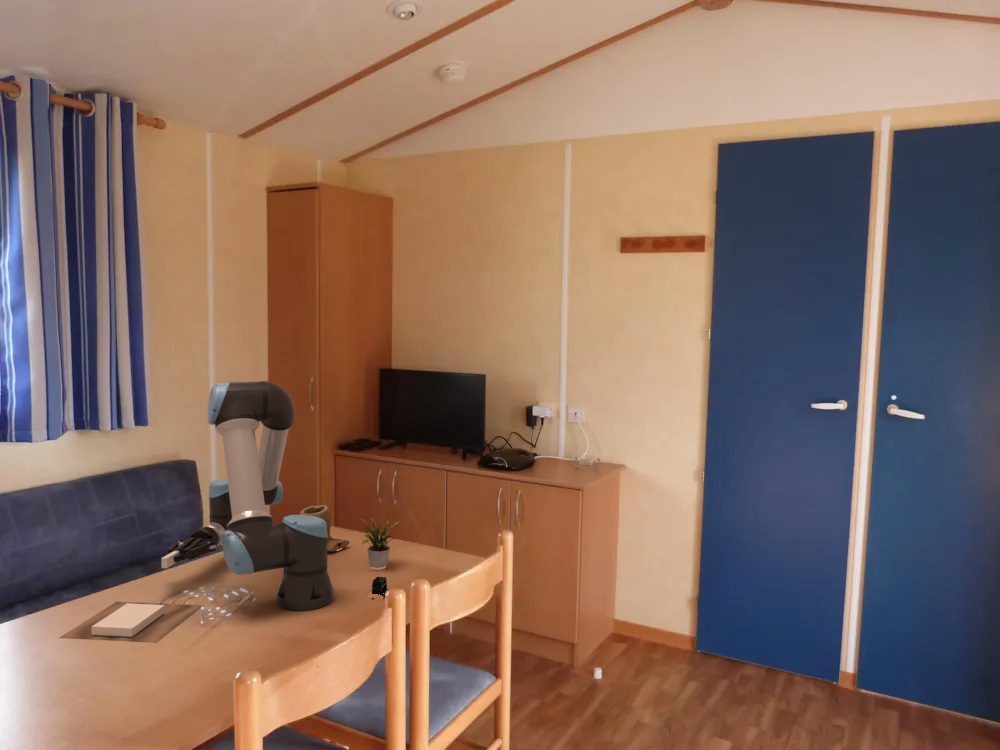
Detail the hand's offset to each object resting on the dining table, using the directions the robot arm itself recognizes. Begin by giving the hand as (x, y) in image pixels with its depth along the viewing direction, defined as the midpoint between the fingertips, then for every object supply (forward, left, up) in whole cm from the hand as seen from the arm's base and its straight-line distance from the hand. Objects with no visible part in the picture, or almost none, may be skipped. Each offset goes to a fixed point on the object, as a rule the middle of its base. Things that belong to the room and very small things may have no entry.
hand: (164, 563), depth 188 cm
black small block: (-55, -15, -12) cm, 58 cm away
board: (0, +14, -11) cm, 18 cm away
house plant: (-48, -35, -12) cm, 61 cm away
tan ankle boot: (-26, -50, -12) cm, 58 cm away
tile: (0, +9, -9) cm, 13 cm away
